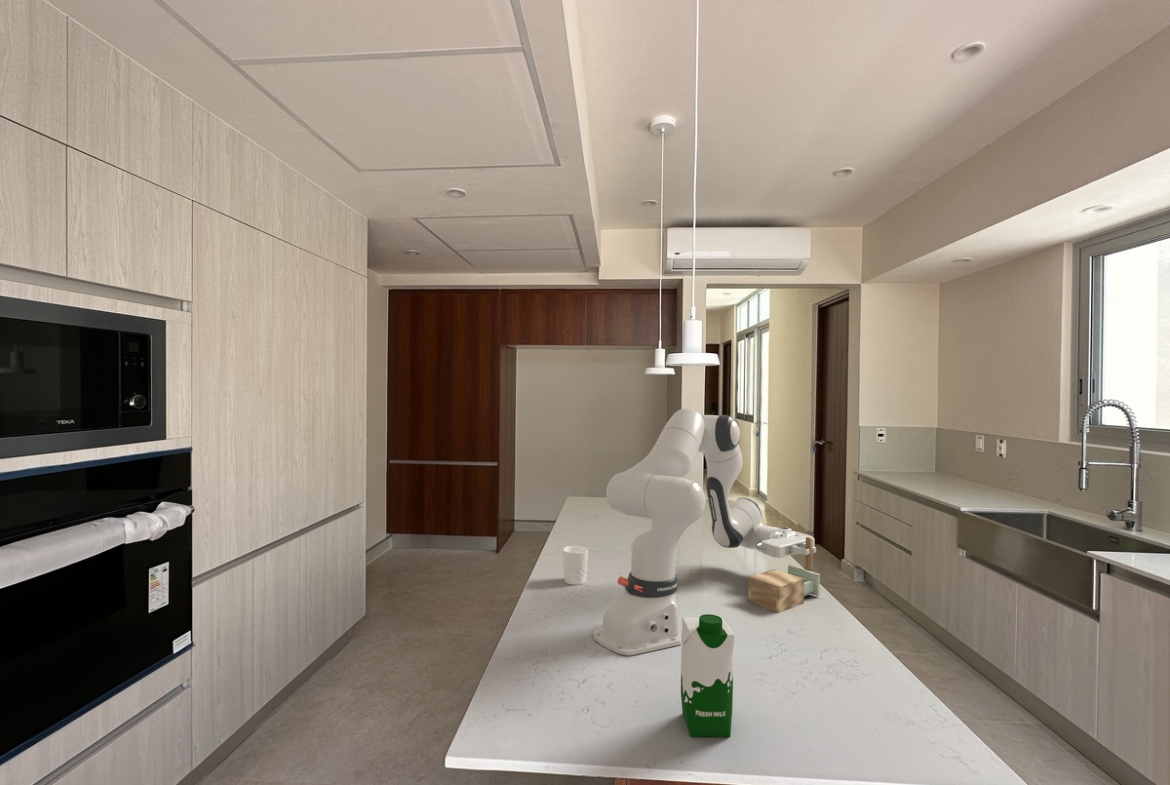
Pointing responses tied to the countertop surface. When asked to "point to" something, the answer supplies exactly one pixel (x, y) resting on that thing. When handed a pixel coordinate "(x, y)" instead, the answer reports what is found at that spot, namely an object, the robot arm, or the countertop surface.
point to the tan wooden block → (776, 590)
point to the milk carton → (707, 675)
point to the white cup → (575, 564)
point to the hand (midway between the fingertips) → (811, 551)
